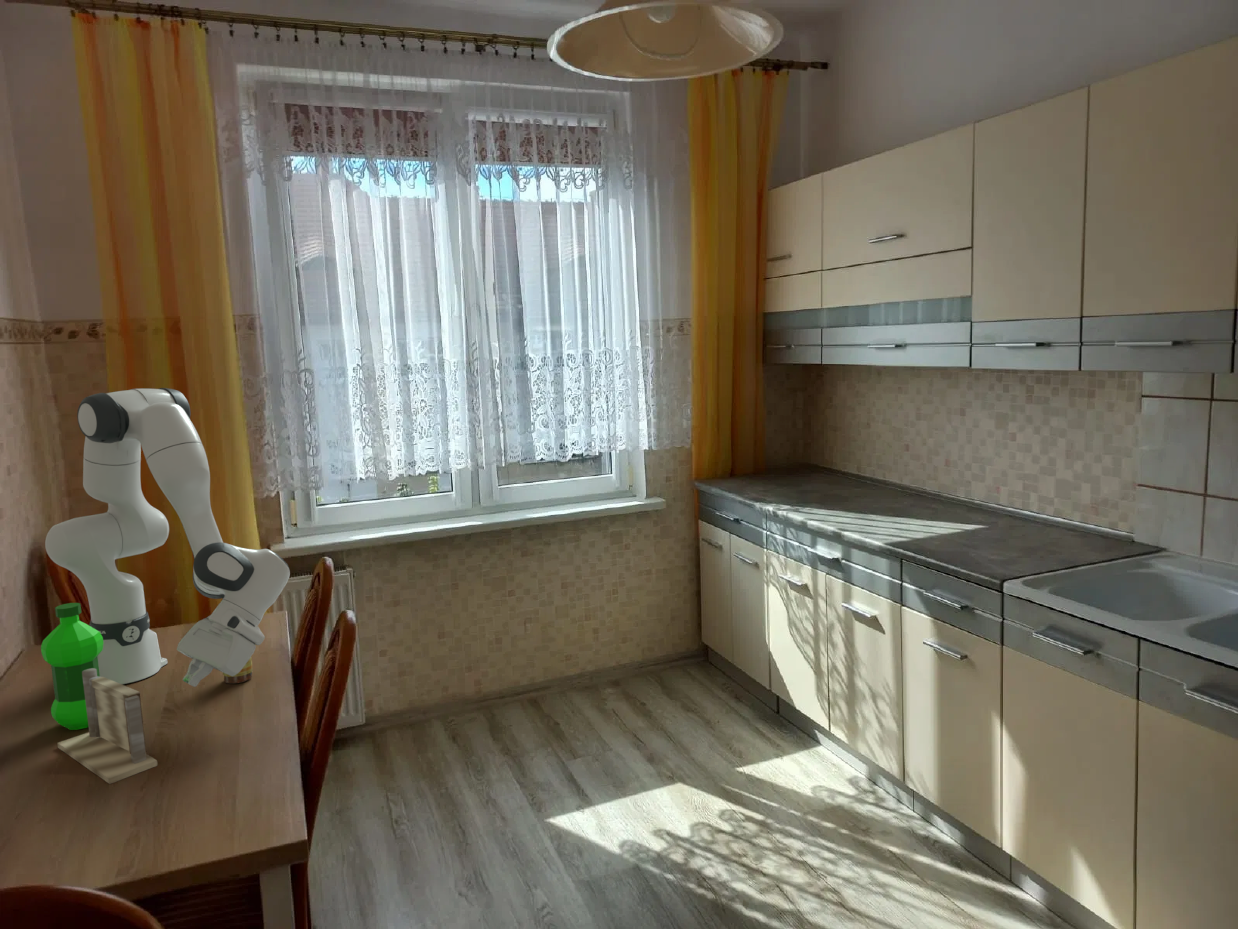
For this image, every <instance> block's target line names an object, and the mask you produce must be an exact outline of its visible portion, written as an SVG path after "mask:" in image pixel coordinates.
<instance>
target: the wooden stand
mask: <svg viewBox="0 0 1238 929" xmlns="http://www.w3.org/2000/svg"><path fill="white" fill-rule="evenodd" d="M82 677H83V685H84V693H85V702H86V710H87V718H88V726H89V727H88V732H85V733H82V734H80V735H77V736H73V737H71V738H68V739H65V740H61V741H59V742H57V748H58V749H59V750H60V751H62V752H64V753H65V754H66V755H68V756H69V757H71V758H72V759H73V760H74V761H77V763H80V765H82V766H83V767H85V768H87V770H89V771H90V772H92V773H94V775H96V776H97V777H99V778H100V779H102V780H103V781H105V782H106V783H107V784H109V785H110V784H114V783H116V782H119V781H121V780H124V779H127V778H129V777H131V776H135V775H137V774H140V773H142V772H144V771H147V770H150V769H152V768H155V767H157V766H158V760H157V759H156V758H154V757H153V756H150V755H149V754H147V752H145V744H146V743H145V744H144V735H145V734H144V735H143V726H144V725H143V726H142V717H143V716H142V717H141V708H142V707H141V708H140V699H141V698H140V699H139V696H137V695H136V696H133V697H129V698H126V699H125V707H126V716H127V725H128V734H129V742H130V751H131V754H130V751H128V750H126V749H124V748H122V747H120V746H118V745H116V744H114V743H112V742H110V741H108V740H106V739H104V738H102V737H96V733H95V725H94V716H93V708H92V700H91V691H90V683H89V679H90V678H93V677H97V669H95V668H91V669H86V670H84V671H82Z"/></svg>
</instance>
